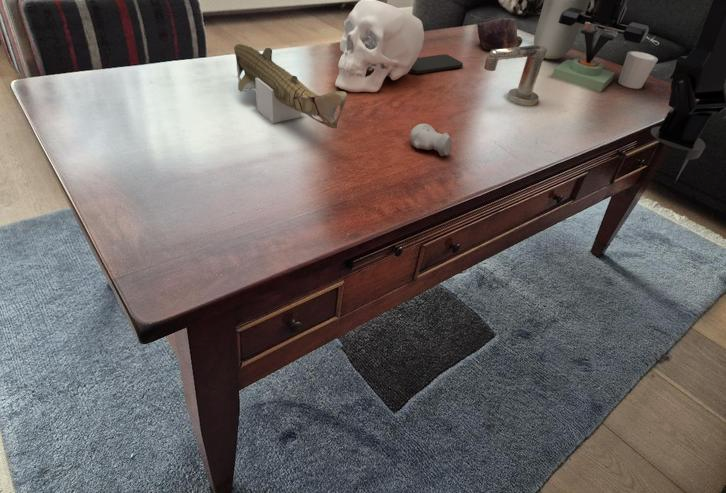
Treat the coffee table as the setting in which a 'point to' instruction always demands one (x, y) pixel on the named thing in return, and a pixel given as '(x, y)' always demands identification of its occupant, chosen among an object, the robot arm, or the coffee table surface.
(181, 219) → the coffee table surface
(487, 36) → the rock
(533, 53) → the spout
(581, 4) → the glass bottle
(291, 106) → the wood carving
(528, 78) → the faucet
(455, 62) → the phone
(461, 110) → the coffee table surface
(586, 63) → the button
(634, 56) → the shot glass
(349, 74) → the skull planter
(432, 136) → the smooth white sculpture
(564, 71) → the push button box
